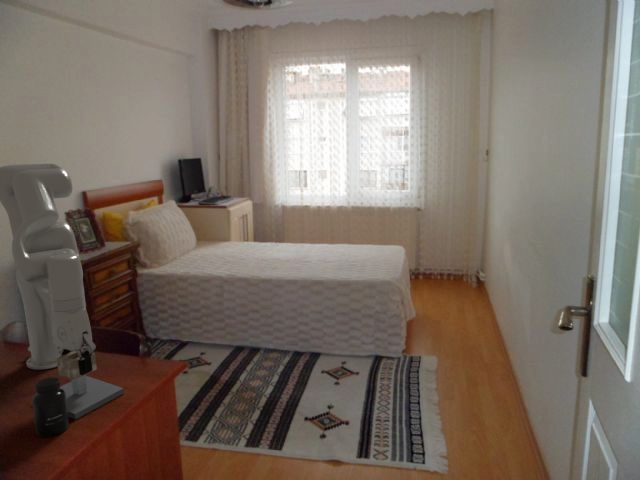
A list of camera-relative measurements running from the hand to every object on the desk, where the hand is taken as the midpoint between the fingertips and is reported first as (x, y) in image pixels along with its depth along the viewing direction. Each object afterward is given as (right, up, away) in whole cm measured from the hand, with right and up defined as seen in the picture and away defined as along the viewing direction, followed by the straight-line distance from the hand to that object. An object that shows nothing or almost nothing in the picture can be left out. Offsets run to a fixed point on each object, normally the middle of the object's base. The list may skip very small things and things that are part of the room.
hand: (77, 369), depth 126 cm
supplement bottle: (0, -11, -12) cm, 16 cm away
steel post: (0, -7, +2) cm, 7 cm away
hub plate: (0, -8, +2) cm, 8 cm away
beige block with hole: (0, -1, 0) cm, 1 cm away
